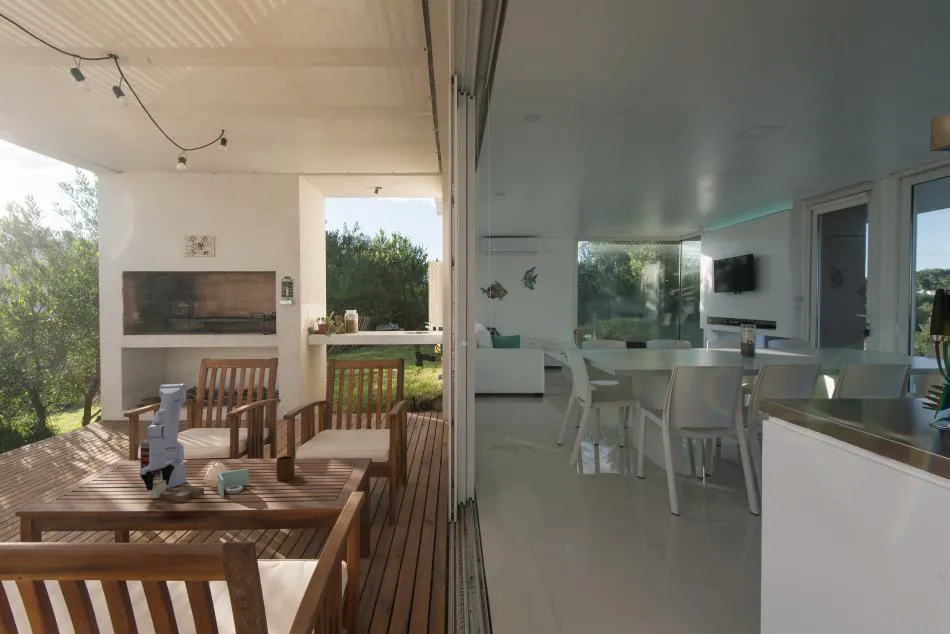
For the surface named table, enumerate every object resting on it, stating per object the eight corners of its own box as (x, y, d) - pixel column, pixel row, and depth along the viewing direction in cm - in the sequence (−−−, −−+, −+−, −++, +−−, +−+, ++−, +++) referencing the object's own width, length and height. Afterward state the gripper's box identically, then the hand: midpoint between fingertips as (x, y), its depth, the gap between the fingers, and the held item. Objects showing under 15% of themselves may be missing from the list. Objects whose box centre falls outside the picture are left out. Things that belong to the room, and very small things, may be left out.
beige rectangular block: (159, 494, 217) (158, 479, 217) (166, 495, 216) (166, 480, 216) (149, 497, 213) (149, 482, 213) (156, 499, 212) (156, 483, 212)
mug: (282, 473, 244) (282, 453, 244) (299, 473, 245) (299, 453, 245) (274, 481, 232) (274, 460, 232) (291, 481, 233) (291, 459, 233)
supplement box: (140, 477, 241) (139, 443, 242) (144, 474, 246) (144, 441, 246) (160, 476, 243) (160, 442, 243) (164, 473, 248) (164, 439, 248)
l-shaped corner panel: (221, 498, 213) (221, 480, 213) (217, 490, 223) (217, 473, 223) (253, 493, 219) (252, 475, 219) (248, 485, 229) (248, 468, 229)
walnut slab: (184, 492, 221) (184, 485, 221) (204, 495, 217) (203, 487, 217) (160, 501, 210) (160, 493, 210) (180, 503, 207) (180, 496, 207)
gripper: (164, 449, 223) (164, 481, 222) (133, 457, 209) (134, 492, 208) (178, 450, 221) (178, 482, 220) (147, 458, 207) (148, 493, 207)
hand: (157, 487), depth 214 cm, fingers open, 7 cm apart
